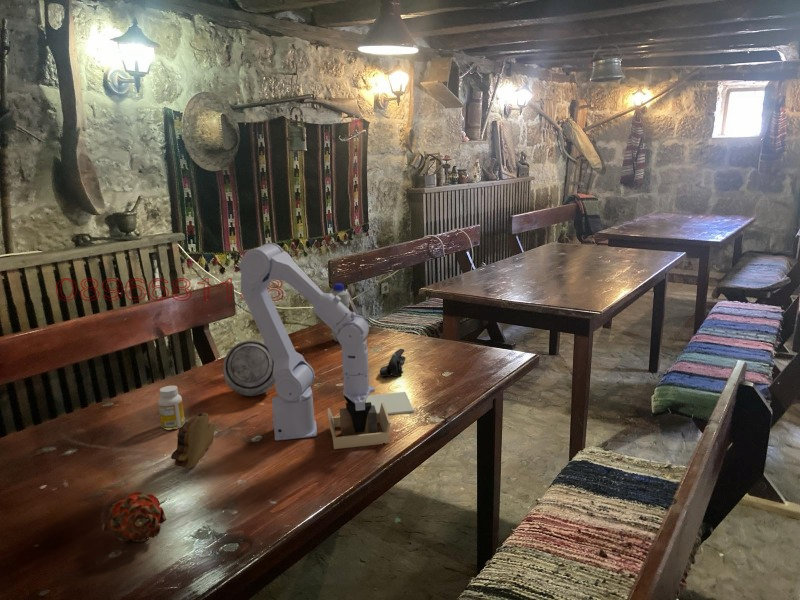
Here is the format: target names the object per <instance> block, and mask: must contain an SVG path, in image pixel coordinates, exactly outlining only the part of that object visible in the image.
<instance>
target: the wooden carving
mask: <svg viewBox="0 0 800 600" xmlns="http://www.w3.org/2000/svg"><path fill="white" fill-rule="evenodd" d="M215 428H216V424H215V423H210V417H209V414H208V412H207V413H206V412H199V413H198V414H197V415H193V416H192V417H190V418H189V420H188V421H185V423H184V425H182V427H180V428H179V429H178V432H177V434H176V437H177V440H176V441H177V445H176V449H175V450H174V451H173V452H172V454H171V455H170V458H171V460H175V461H174V466H175V467H180V468H185V469H191V468H193V467H195V465H196V464H197V463H198V462H199V460H200V459H201V458H202V457H204V456H205V454H206V452H207V450H208V448H209V447H211V445H212V444H213V443H214V436H215ZM202 459H203V458H202ZM202 459H201V460H202ZM201 460H200V461H201ZM199 463H200V462H199ZM199 463H198V464H199ZM198 464H197V465H198ZM197 465H196V466H197Z"/></svg>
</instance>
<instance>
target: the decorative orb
mask: <svg viewBox="0 0 800 600" xmlns="http://www.w3.org/2000/svg"><path fill="white" fill-rule="evenodd" d="M273 366H274V361H273V359H272V357H271V355H270V353H269V351H268V348H267V346H266V344H265V342H264V341H263V342H262V341H260V340H255V339H254V340H252V339H248V340H244V341H240V342H238V343H236V344H234V346H232V347H231V348H230V349H229V350H228V352H227V353H226V355H225V356H224V359H223V363H222V376H223V378H224V381H225V383H226V385H227V386H228V387H229V388H230V389H231V390H232V391H234V392H235V393H236V394H239V395H241V396H246V397H254V396H260V395H262V394H264V393H267V392H268V391H269V390H270V389H271V388H272V387H273V386H275V379H274V377H273Z"/></svg>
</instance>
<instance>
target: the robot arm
mask: <svg viewBox="0 0 800 600" xmlns="http://www.w3.org/2000/svg"><path fill="white" fill-rule="evenodd" d="M238 268H239V270H240V292H241V294H242V297H243V299H244V301H245V303H246V306H247V307H248V309H249V311H250V313H251V314H250V315H251V316H252V319H253V320H254V322H255V324H256V327H257V329H258V331H259V334H260V336H261V337H262V339H263V343H265V344H266V346H267V348H268V351H269V353H270V355H271V357H272V359H273V361H274V366H273V377H274V379H275V383H274V388H275V392H276V394H277V396H274V397H272V399H271V401H272V402H271V404H272V405H271V407H272V408H271V409H272V419H273V420H272V429H274V431H273V432H274V433H273V434H274V440H275V441H285V440H293V439H294V440H295V439H305V438H314V437H317V436H318V428H317V421H316V420H315V414H314V413H315V412H314V411H315V410H314V400H313V391H312V388H311V386H312V384H313V382H314V380H315V377H316V376H315V370H314V369H313V367H312V366H311V364H309V363H308V362H307V361H306V360H305V357H304V356H303V354H301V353H299V352H297V351H296V349H295V347H294V345H293V343H292V340H291V338H290V336H289V334H288V332H287V329H286V327H285V325H284V322H283V321H282V318H281V317H280V314H279V312H278V310H277V308H276V306H275V304H274V301H273V299H272V297H271V294H270V293H269V291H268V287H269V286H270V283H271V281H272V280H273V281H275V280H276V281H285V282H286V283H287V284H289V286H291V288H293V289H294V290H296V291H297V292H298V293H299V294H300V295H302V297H304V298H305V299H306V300H307V301H309V302H310V303H311V304H312V308H313V313H314V315H316V316H317V317H318V318H320V320H322V322H323V323H324V324H326V325H327V326H328V327H329V329H331V331H332V330H333V331H334V332H336V333H337V334H338V335H337V339H338V341H337V342H338V343H339V345H341V357H342V358H341V360H342V361H341V362H342V376H343V377H342V378H343V380H342V381H343V390H342V392H343V398H344V400H345V401H346V402H345V408H347V410H348V412H349V413H350V415H351V418H352V422H353V426H354V430H355V432H356V433H357V432H364V431H365V427H366V420H367V416H368V413H369V411H370V409H371V406H372V404H371V402H367V403H365V402H366V399H367V397H368V396H369V395H371V393H375V392H376V389H375V386H370V375H369V374H370V373H369V372H370V371H369V370H370V368H369V350H368V339H366V338H367V337H368V335H369V332H370V325H369V323H368V321H367V320H366V318H365V317H364V316H362V315H360V314H359V315H358V314H357V313H356V312H355V311H351V310H350V309H348V308H347V307H346V306H345V305H344V304H343V303H342V302H340V300H341V298H340V297H339V296H338V295H337V296H334V295H333V294H332V292H331V293H330V292H329V293H328V292H323V290H322V289H321V288H319V287H318V285H317V284H316V283H315V282H314V281H313V279H311V278H310V277H309V276H308V275H307V274H306V272H304V270H302V269H301V268H300V267H299V265H298V264H296V262H295V261H294V260H293V258H292V257H291V255H290V254H289V253H288V252H286V251H284V250H283V248H282V247H281V246H280V245H278V244H277V243H274V242H267V243H264V244H263V245H260V246H258V247H255V248H252V249H249V250H247V251H245V253H244V254H243V256H242V258H241V260H240V262H239V263H238ZM347 314H348V315H347Z"/></svg>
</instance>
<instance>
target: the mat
mask: <svg viewBox="0 0 800 600" xmlns="http://www.w3.org/2000/svg"><path fill="white" fill-rule="evenodd" d="M367 402H371V404H372V405H374V406H375V409H376V412H379V411H380V407H381V403H384V405H385V408H386V411H387V414H388V416H391V415H401V414H409V413H414V410H415V409H414V408H413V406H412V404H411V401H410V399H409V396H408V395H407V392H406V391H402V392H401V391H399V392H391V393H381V394H377V393H376V394H369V396H368V397H367V399H366V402H365V403H367Z"/></svg>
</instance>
